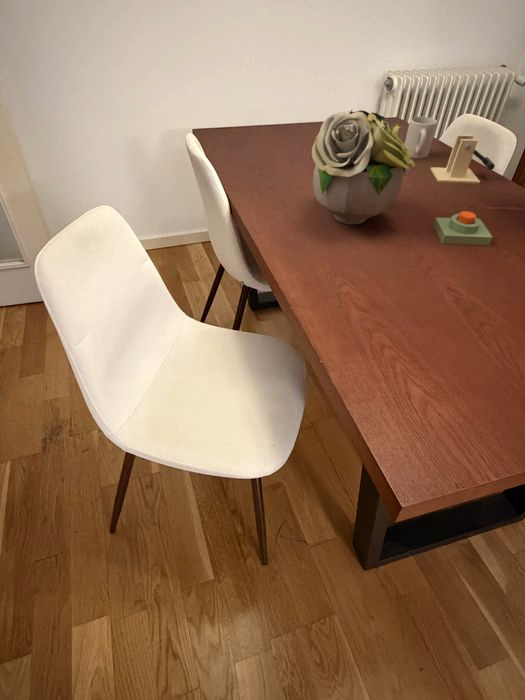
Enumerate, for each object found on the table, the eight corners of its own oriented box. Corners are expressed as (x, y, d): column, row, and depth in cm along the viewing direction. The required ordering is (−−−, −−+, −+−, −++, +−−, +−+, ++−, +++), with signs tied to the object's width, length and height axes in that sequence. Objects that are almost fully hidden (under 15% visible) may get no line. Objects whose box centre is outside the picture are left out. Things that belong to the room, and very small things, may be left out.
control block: (476, 227, 101) (483, 212, 98) (488, 245, 95) (496, 230, 92) (432, 225, 101) (437, 210, 99) (441, 243, 95) (447, 228, 92)
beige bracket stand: (468, 173, 126) (483, 132, 118) (478, 186, 119) (495, 144, 110) (429, 172, 126) (441, 131, 118) (437, 185, 119) (451, 142, 111)
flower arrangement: (289, 230, 99) (296, 120, 81) (317, 190, 115) (328, 92, 98) (391, 250, 92) (422, 136, 75) (405, 206, 109) (433, 103, 92)
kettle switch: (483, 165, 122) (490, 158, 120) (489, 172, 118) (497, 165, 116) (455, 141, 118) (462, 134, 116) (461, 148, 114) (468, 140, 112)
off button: (470, 218, 97) (473, 211, 95) (475, 225, 94) (478, 218, 93) (455, 217, 97) (458, 210, 96) (459, 224, 94) (462, 217, 93)
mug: (400, 150, 139) (409, 115, 132) (426, 152, 138) (436, 117, 131) (403, 163, 131) (412, 126, 123) (430, 165, 130) (441, 128, 122)
